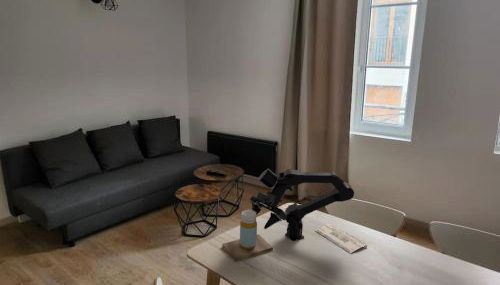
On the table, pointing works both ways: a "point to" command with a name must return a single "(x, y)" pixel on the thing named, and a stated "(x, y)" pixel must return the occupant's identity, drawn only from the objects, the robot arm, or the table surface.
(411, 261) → the table surface
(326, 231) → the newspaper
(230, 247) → the brown rectangular board
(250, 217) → the bottle
